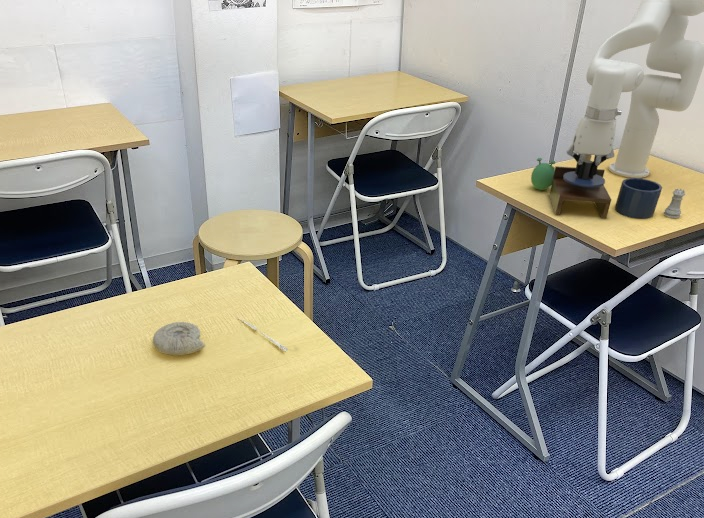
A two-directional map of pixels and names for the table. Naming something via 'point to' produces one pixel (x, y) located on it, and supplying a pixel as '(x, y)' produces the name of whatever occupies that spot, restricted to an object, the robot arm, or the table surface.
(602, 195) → the shelf
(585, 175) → the lid
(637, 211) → the pot
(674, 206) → the rook chess piece
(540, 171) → the alien toy
